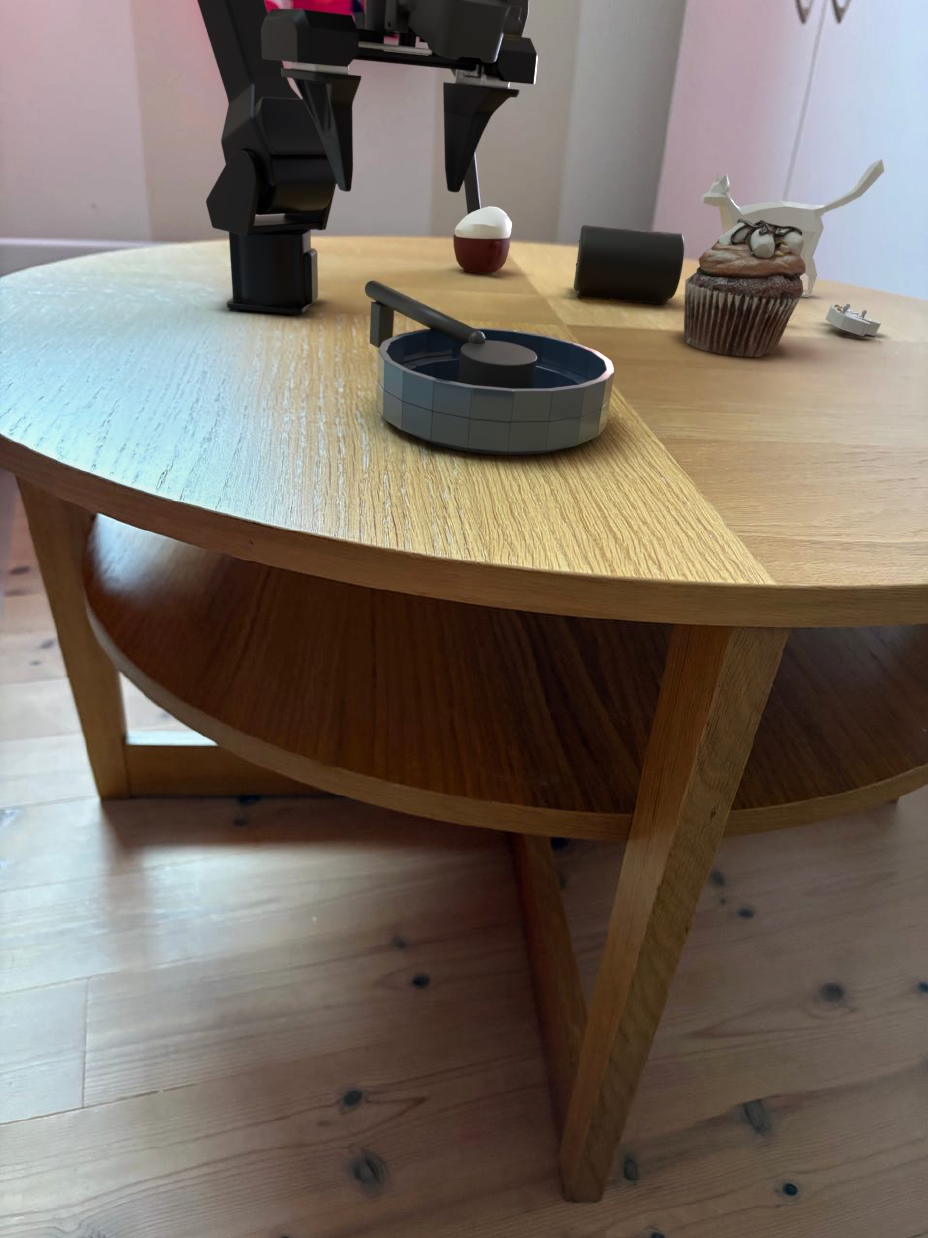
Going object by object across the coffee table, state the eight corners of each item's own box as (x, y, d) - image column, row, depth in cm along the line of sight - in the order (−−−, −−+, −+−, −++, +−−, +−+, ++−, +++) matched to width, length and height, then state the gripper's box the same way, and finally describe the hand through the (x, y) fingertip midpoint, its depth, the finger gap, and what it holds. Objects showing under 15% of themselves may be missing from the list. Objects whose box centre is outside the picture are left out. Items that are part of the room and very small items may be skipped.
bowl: (361, 449, 49) (361, 377, 47) (393, 379, 61) (394, 319, 59) (612, 471, 49) (624, 400, 47) (595, 396, 61) (604, 337, 59)
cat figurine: (678, 284, 101) (704, 144, 94) (838, 291, 104) (875, 157, 97) (692, 292, 97) (720, 147, 90) (858, 299, 101) (898, 160, 93)
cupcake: (710, 326, 83) (735, 209, 78) (806, 350, 77) (839, 226, 72) (651, 338, 77) (674, 213, 72) (751, 366, 71) (782, 231, 66)
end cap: (574, 302, 88) (583, 229, 84) (569, 288, 94) (578, 219, 90) (674, 311, 88) (688, 237, 84) (663, 296, 94) (676, 227, 90)
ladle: (339, 339, 63) (340, 280, 61) (393, 334, 66) (396, 276, 63) (485, 427, 52) (493, 358, 50) (544, 415, 55) (554, 349, 52)
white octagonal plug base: (888, 340, 83) (897, 312, 82) (775, 338, 81) (782, 308, 80) (856, 325, 88) (864, 298, 86) (748, 322, 86) (754, 294, 84)
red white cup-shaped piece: (509, 280, 96) (520, 155, 90) (451, 276, 95) (458, 150, 89) (504, 264, 104) (514, 149, 98) (451, 261, 104) (458, 145, 97)
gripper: (343, -123, 46) (341, 209, 54) (606, -65, 55) (571, 208, 64) (252, -105, 53) (262, 184, 61) (499, -57, 63) (479, 186, 71)
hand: (401, 191), depth 64 cm, fingers open, 9 cm apart
